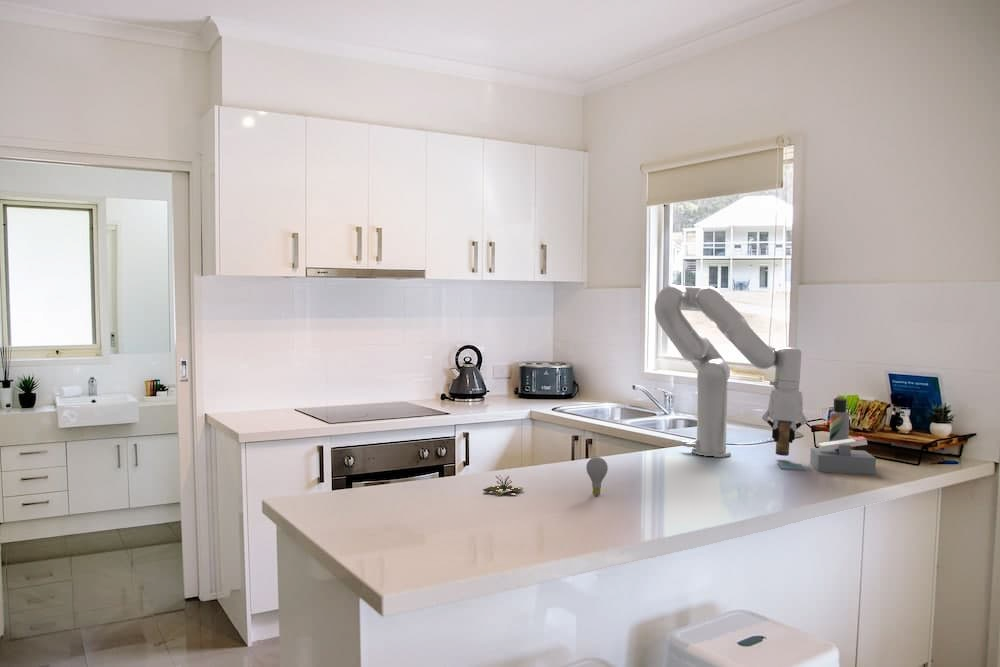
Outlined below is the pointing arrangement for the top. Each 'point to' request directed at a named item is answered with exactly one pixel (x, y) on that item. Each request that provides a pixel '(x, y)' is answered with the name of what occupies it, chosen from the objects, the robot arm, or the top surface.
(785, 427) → the brown wooden block
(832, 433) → the lotion bottle
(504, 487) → the flowering plant
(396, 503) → the top surface
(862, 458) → the box
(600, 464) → the light bulb
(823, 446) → the breaker rocker
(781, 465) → the mat
